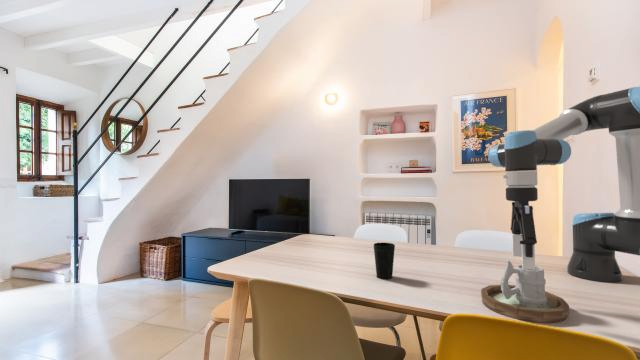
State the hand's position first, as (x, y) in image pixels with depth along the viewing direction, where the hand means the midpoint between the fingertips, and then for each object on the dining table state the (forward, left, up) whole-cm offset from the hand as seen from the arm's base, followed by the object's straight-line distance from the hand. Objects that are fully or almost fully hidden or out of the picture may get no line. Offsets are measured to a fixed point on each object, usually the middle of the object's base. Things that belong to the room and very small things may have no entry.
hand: (523, 262), depth 89 cm
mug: (0, +1, -11) cm, 11 cm away
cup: (+41, -13, -13) cm, 45 cm away
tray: (0, 0, -12) cm, 12 cm away
